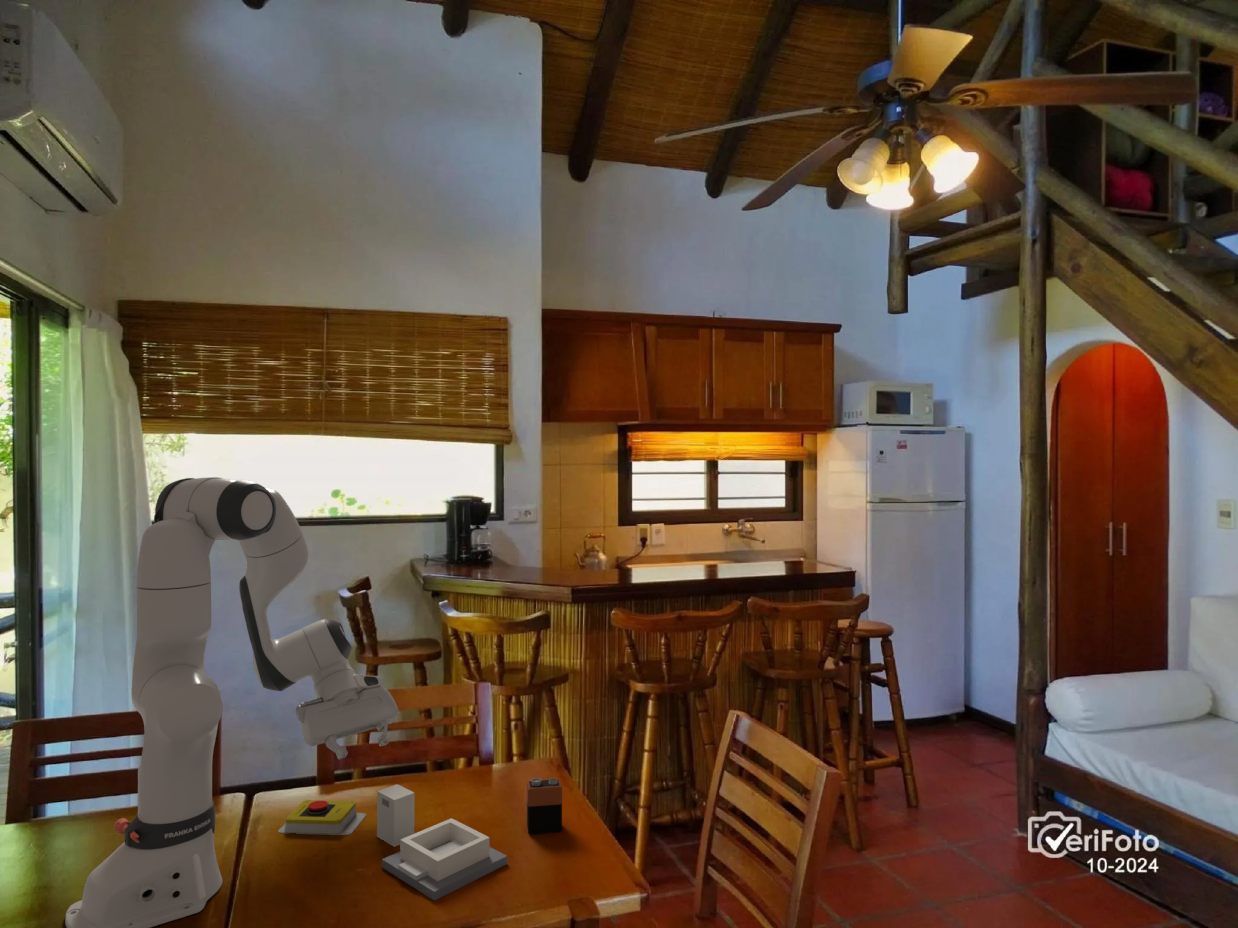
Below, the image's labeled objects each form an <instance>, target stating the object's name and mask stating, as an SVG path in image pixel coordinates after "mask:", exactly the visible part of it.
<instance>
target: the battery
mask: <svg viewBox="0 0 1238 928" xmlns="http://www.w3.org/2000/svg"><path fill="white" fill-rule="evenodd" d="M526 829H527V833H528V834H529V835H536V834H548V833H559V832H562V831H563V787H562V782H561V780H560V779H558V778H556V777H551V778H549V779H542V778H539V777H534V778H532V779H530V780H529V781H527V783H526Z"/></svg>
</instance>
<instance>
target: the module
mask: <svg viewBox="0 0 1238 928" xmlns="http://www.w3.org/2000/svg"><path fill="white" fill-rule="evenodd" d="M376 795H377V797H376V798H377V799H376V804H377V805H376V810H377V811H376V812H377V813H376V837H377V838H379V839H380V840H382V841H383V840H384V841H383V842H385V843H387V844H389V845H390V846H392V847H397V846H400V840H401V839H403V838H405V837H408V836H410V835H413V834H415V798H416V797H415V792H414V791H412V790H410V789H407V787H404V786H402V785H400V784H398V783H397V784H394V785H391V786H388V787H385V788H382V789H380V790H377V791H376Z"/></svg>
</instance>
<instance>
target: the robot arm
mask: <svg viewBox="0 0 1238 928" xmlns="http://www.w3.org/2000/svg"><path fill="white" fill-rule="evenodd" d="M154 509H155V511H154V514H153V515H154V517H153V522H154V523H153V524H151V525H149V526H148V527H147V529H146V530H145V531H144V533H143V534H142V538H141V543H140V548H139V552H138V559H137V569H136V643H135V650H134V658H133V666H132V667H133V668H132V677H131V679H132V680H131V700H132V704H133V707H134V708H135V710H136V711H137V712H138V714H139V715H140V716H141V717H142V721H143V725H144V726H143V728H144V733H143V734H144V735H143V745H142V746H143V747H142V751H141V758H140V764H139V766H138V769H137V814H136V816H135V817H134V818H133V820H132V821H129V820H128V819H127V818H125V817H122V818H119V819H118V820H116V821H115V823H114V826H113V827H114V830H115V831H117V832H118V834H120V835H123V834H124V837H123V838H124V842H123V843H121V844H120V845H119V846H118V847H117V848H116V849H115V850H114V851H113V852H112V853H110V855H109V856H108V857H106V858H105V859H104V860H103V861H102V862H101V863H100V864H99V865H98V866H97V867H95V868H94V869H93V870H92V871H91V872H90V873H89V874H88V876H87V879H86V881H85V884H84V887H83V892H82V899H81V900H78V901H76V902H74V903H73V904H71V905H70V906H69V907H68V908H67V911H66V913H65V917H64V918H65V920H64V922H65V923H64V924H65V928H153V927H156V926H158V925H163V924H165V923H169V922H172V921H176V920H178V919H182V918H185V917H188V916H191V915H193V914H197V913H200V912H201V911H202V910H203V909H204V908H205V906H206V904H207V901H208V900H209V899H211V898H212V897H213V896H214V895H215V894H216V893H217V892H218V891H219V890H220V888H221V887H222V885H223V877H222V875H221V874H222V873H221V872H220V868H219V864H218V860H217V856H216V854H217V853H216V848H215V841H214V834H215V831H216V808H215V807H216V806H215V801H214V800H213V755H214V750H215V749H214V748H215V743H216V737H217V732H218V727H219V722H220V719H221V718H222V715H223V709H224V708H223V706H224V705H223V698H222V694H221V691H220V689H219V686H218V684H217V683H216V682H215V681H214V680H213V679H212V678H211V677H210V676H208V675H207V674H206V671H205V670H206V669H205V663H204V662H205V653H206V647H207V642H208V637H209V633H210V630H211V628H212V575H211V573H212V571H211V561H210V554H211V550H212V548H213V545H214V544H215V541H217V540H218V541H219V540H221V541H224V540H237V541H239V545H240V547H241V550H242V552H243V553H244V554H243V555H244V557H245V559H246V572H245V575H243V576H242V578H241V579H240V580H239V589H238V590H239V596H240V601H241V605H242V606H241V607H242V612H243V616H244V622H245V625H246V629H247V630H246V631H247V634H248V638H249V643H250V645H251V649H252V655H253V657H252V659H253V660H252V662H253V670H254V674H255V676H256V677H255V678H256V680H257V681H258V683H259V684H260V685H261V686H262V687H263V688H264V689H267V690H270V691H274V692H275V691H276V692H283V691H284V690H286V689H287V688H289V687H292V686H293V685H294V684H296V683H297V682H299V681H301V680H303V679H305V678H307V677H308V678H310V679H311V681H312V685H313V691H314V693H315V696H316V698H315V699H312V700H309V701H307V700H306V701H302V702H301V703H300V704H299V705H298V706H297V707H296V709H295V715H296V717H297V719H298V721H299V722H300V727H301V732H302V736H303V739H304V742H305V744H306V745H308V746H309V747H316V746H318V745H322V744H325V746H326V748H327V749H329V750H330V751H331V752H333V753H335V755H336V758H337V759H338V760H341V759H344V758H346V757H347V756H348V753H349V752H348V750H347V747H346V745H344V746H341V745H340V744H339V743H338V742H337V740H339V739H342V738H346V737H350V736H353V735H357V734H360V733H364V732H366V731H369V730H373V729H376V730H377V731H378V733H380V735H379V736H378V737H377V740H376V741H377V743H378V746H379V747H383V746H387V745H388V744H389V743H390V740H389V737H388V735H387V733H388V727H389V726H388V725H391V724H393V723H394V722H395V720H396V719H397V718H398V716H399V712H400V711H399V707H398V705H397V703H396V701H395V699H394V697H393V695H392V694H391V693H390V691H389V690H388V689H387V688H385V687H384V686H383V683H384V681H383V679H382V678H381V676H378V675H364V674H359V673H356V672H355V670H354V669H353V668H352V666H351V665H350V663H349V657H350V655H351V651H352V648H353V647H352V645H351V643H350V642H349V640H348V639H347V636H346V633H345V630H344V628H343V625H342V624H341V622H338V621H336V620H334V619H330V618H326V617H325V618H323V619H319V620H317V621H315V622H312V623H310V624H308V625H306V626H303V627H302V628H300V629H298V630H296V631H292V632H290V633H289V634H286V635H284V636H282V637H280V638H275V639H273V638H272V633H271V629H270V625H269V620H268V616H267V614H268V613H267V612H268V608H269V607H270V606H271V604H272V602H273V601H274V600H275V599H276V598H277V597H278V596H279V595H280V594H281V593H282V592H283V591H284V590H286V589H287V588H288V587H289V586H290V585H292V584H293V583H294V582H296V580H297V579H298V578H299V577H300V576H301V574H302V572H303V571H304V570H305V567H306V566H307V563H308V559H309V548H308V546H307V541H306V538H305V535H304V534H303V530H302V529H301V526H300V524H299V521H298V520H297V517H296V516H295V514H294V513H293V511H292V509H291V508H290V506H289V504H288V502H286V500H285V498H284V497H283V496H282V495H281V494H280V493H279V492H278V491H277V490H275V489H273V488H268V487H264V486H263V485H261V484H259V483H257V482H254V481H251V480H246V479H238V480H237V479H231V478H223V477H216V476H215V477H214V476H213V477H199V478H194V477H186V478H181V479H178V480H175V481H173V482H170V483H169V484H167V485H166V486H165V487H164V488H163V489H162V490H161V491H160V493H159V495H158V497H157V499H156V503H155V508H154Z"/></svg>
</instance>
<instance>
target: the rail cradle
mask: <svg viewBox="0 0 1238 928" xmlns="http://www.w3.org/2000/svg"><path fill="white" fill-rule="evenodd" d="M399 847H400V848H399V849H400V851H398V852H395V853H393V854H390V855H388V856H386V857H385V858H384V857H383V858H382V859H381V868H382V869H384V870H385V871H387V872H388V873H390V874H392V875H393V876H395V877H396V878H398V879H400V880H401V881H402V882H404V883H405V884H408V885H409V886H411V887H412V888H414V889H415V890H416V891H418V892H420V893H421V894H423V895H424V896H426V897H428V898H429V899H431V900H433V901H436V900H437V901H438V899H441V898H442V897H444V896H447V895H448V894H450V893H452V892H455V891H456V890H459V889H461V888H462V887H464V886H466V885H469V884H470V883H473V882H474V881H477V880H478V879H480V878H483V877H484V876H486V875H488V874H490V873H492V872H494V871H497V870H498V869H501V868H502V867H504V866H506V865H508V855H507V854H504V853H502V852H500V851H499V850H497V849H495V848H493V847H491V846H490V837H489V836H487V835H486V834H484V833H482V832H479V831H477V830H476V829H475V828H472V827H471V826H467V825H466V824H464V823H462V822H460V821H458V820H456V819H454V818H451V817H450V818H449V819H446V820H444V821H441V822H439V823H437V824H435V825H432V826H430V827H427V828H425V829H422V830H421V831H418V832H414V834H413V835H410V836H408V837H405V838H403V839H401V840H400V845H399Z"/></svg>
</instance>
